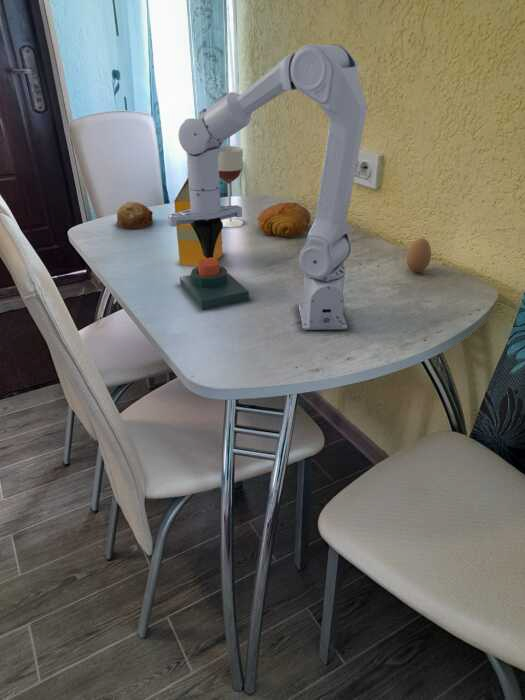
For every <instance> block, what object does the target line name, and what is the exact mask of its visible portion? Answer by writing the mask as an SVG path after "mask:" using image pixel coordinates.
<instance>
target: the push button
mask: <svg viewBox="0 0 525 700" xmlns="http://www.w3.org/2000/svg"><path fill="white" fill-rule="evenodd" d="M220 266H221V264H220V261H219V259H218V260H216V259H203V260H200V261H199V262H198V266H197V267H198V274H199V275H201V276H215V275H218V274H220Z"/></svg>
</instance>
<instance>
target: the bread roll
mask: <svg viewBox="0 0 525 700" xmlns="http://www.w3.org/2000/svg"><path fill="white" fill-rule="evenodd" d="M153 214H154V213H153V211H152V210H151V209H150V207H147V205H145V204H144V203H141V202H139V201H126V202H124V203H122V205H120V206H119V208H118V209H117V212H116V225H118V227H120V228H122V229H124V230H139V229H143V228H146V227H148V226H150V225H152V223H153V221H154V220H153Z"/></svg>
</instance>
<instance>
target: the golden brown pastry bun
mask: <svg viewBox="0 0 525 700" xmlns="http://www.w3.org/2000/svg"><path fill="white" fill-rule="evenodd" d="M311 217H312V215H311V213H310V211H309V210H308V209H307V208H306V207H304V206H303V205H301V204H299V203H297V202H290V201H289V202H280V203H277V204H273V205H271V206H268V207H267V208H264V210H262V211H261V212H259V214H258V216H257V220H258V227H259V229H260V230H261V231H262V232H263V233H264V234H265V235H268V236H273V235H275V236H276V237H280V238H282V237H283V238H296V237H299V236H300V235H301V234H303V233H304V232H305V231H306V229H307V227H308V225H309V224H310V222H311Z"/></svg>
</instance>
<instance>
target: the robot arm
mask: <svg viewBox="0 0 525 700" xmlns="http://www.w3.org/2000/svg"><path fill="white" fill-rule="evenodd" d="M358 70H359V63H358V61H357V60H356V59H355V58H354V56H353V55H352V54H351V53H350V52H349V50H348V49H347V48H346V47H344V45H341V44H338V43H330V44H319V45H318V44H316V43H309V44H304V45H303V46H301V47H300V48H299V49H298V50H296V52H293V53H291V54H288V55H286V56H285V57H284V58H283V59H281V61H279V62H278V63H277V64H275V65H274V66H273V67H272V68H271V69H269V71H266V73H264V74H263V75H262V76H261V77H260V78H259V79H258V80H255V82H254V83H253V84H252V85H250V86H249V87H248V88H247V89H245V90H244V91H243V92H242V93H238V92H234V91H230V92H222V93H220V94H219V95H218V96H217V99H218V101H217V102H215V103H213V104H212V105H211V106H209V107H208V108H202V109H201V110H199V112H198V114H199V115H198V117H197V118H193V117H192V118H186V119H184V121H183V123H181V125H180V126H179V129H178V140H179V144H180V146H181V148H182V150H184V152H186V164H187V178H188V180H189V193H190V207H191V209H189V210H185V211H181V212H178V213H175V212H174V213H168V214H167V220H168V225H169V226H170V227H171V228H174V227H176V226H177V225H182V224H189V223H191V226H192V227H193V229H194V231H195V233H196V235H197V237H198V239H199V241H200V244H201V247H202V251H203V255H204V256H205V257H206V258H211V257H213V254H214V249H215V245H216V241H217V238H218V236H219V234H220V232H221V230H223V228H224V227H223V223H222V222H221V220H225V219H229V218H231V219H232V218H237V219H238V218H242V217H243V207H242V206H240V205H238V204H236V205H235V204H234V205H231V206H228V205H221V191H220V190H221V189H220V178H219V163H218V157H219V150H220V147H222V146H223V144H224V142H225V141H226V140H228V139H229V138H231V137H232V136H234V135H235V134H237V133H238V132H240V131H241V130H243V129H244V128H246V127H247V126H249V125H250V122H251V119H252V113H254V112H255V111H257V110H258V109H260V108H261V107H263V106H265V105H267V104H268V103H269V102H271V101H272V100H274V99H276V98H277V97H279V96H281V95H282V94H284V93H286V92H287V91H296V90H298V91H299V92H300V93H301V94H303V95H304V96H305V97H307V98H309V99H310V100H312V101H313V102H315V103H316V104H317V105H318V106H319V107H320V108H321V109H322V111H323V112H324V114H325V115H326V116H327V118H328V119H329V124H328V132H327V137H326V138H327V139H326V145H325V151H324V158H323V164H322V171H321V177H320V186H319V192H318V198H317V205H316V212H315V218H314V221H313V224H312V225H311V227H310V229H309V231H308V233H307V236H306V242H305V244H304V246H303V248H302V249H301V251H300V252H299V254H298V255H299V256H298V261H299V266H300V268H301V270H302V272H303V273H304V275H303V276H304V277H303V296H302V304H299V305H298V310H299V315H300V321H301V326H302V329H303V330H305V331H317V330H318V331H322V330H325V331H327V330H330V331H331V330H333V331H334V330H335V331H336V330H347V329H348V325H347V322H346V319H345V316H344V308H345V295H344V287H345V274H346V268H345V261H346V260H347V259H348V258H349V257H350V256H351V252H352V242H351V238H350V231H351V226H350V224H349V223H348V221H347V219H348V215H349V208H350V202H351V197H352V192H353V187H354V181H355V176H356V170H357V165H358V159H359V154H360V150H361V145H362V144H361V143H362V138H363V133H364V127H365V121H366V117H367V109H368V108H367V101H366V97H365V94H364V91H363V86H362V84H361V81H360V76H359V71H358ZM176 228H177V227H176Z"/></svg>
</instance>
